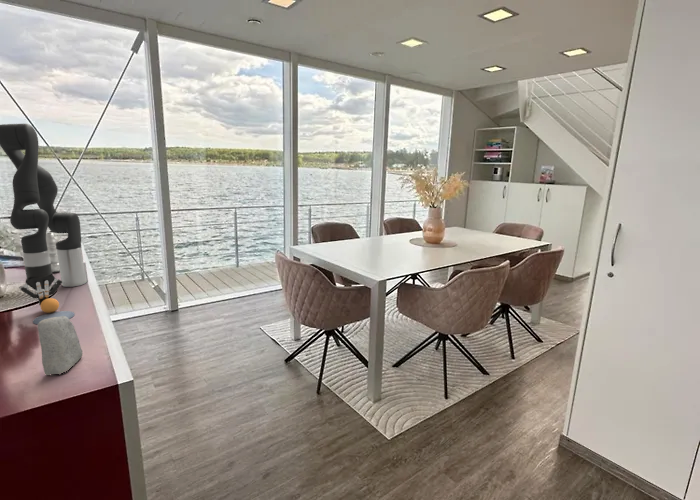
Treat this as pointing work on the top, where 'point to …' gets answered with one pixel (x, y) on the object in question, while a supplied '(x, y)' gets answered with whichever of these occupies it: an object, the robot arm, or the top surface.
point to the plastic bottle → (52, 251)
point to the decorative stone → (58, 344)
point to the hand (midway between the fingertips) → (44, 306)
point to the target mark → (54, 314)
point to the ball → (49, 305)
